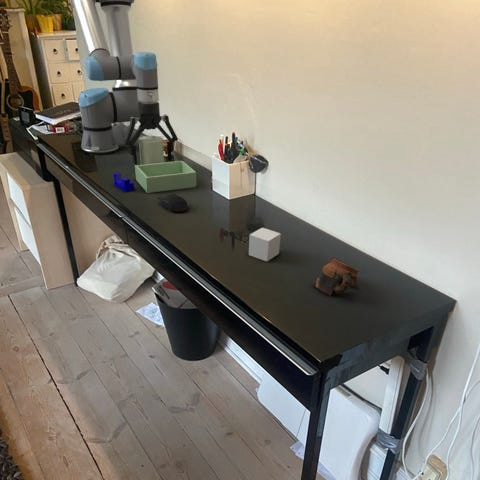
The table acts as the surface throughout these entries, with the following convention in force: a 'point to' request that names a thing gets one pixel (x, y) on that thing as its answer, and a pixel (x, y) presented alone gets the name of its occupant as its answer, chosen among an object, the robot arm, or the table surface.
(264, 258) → the white cube
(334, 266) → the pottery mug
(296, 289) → the table surface
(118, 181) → the cable holder
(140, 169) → the bin
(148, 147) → the can
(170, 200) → the gaming mouse
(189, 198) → the table surface
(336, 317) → the table surface
